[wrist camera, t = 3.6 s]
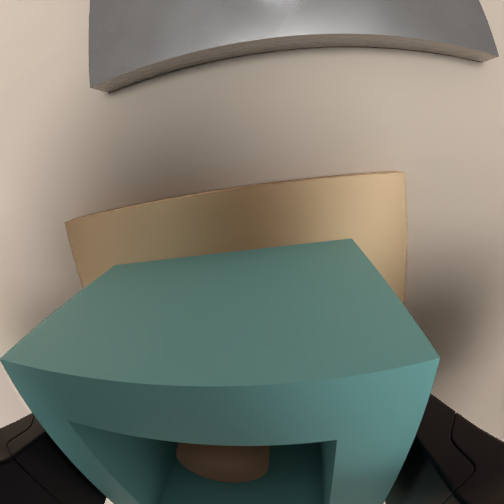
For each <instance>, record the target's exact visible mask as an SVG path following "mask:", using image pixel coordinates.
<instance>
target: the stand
mask: <svg viewBox="0 0 504 504" xmlns="http://www.w3.org/2000/svg"><path fill="white" fill-rule="evenodd" d="M65 225H66V229H67V233H68V237H69V241H70V245H71V249H72V252H73V256H74V260H75V263H76V266H77V270H78V273H79V276H80V279H81V282H82V286H83V289H84V288H85V287H87V286H88V285H89V284H90V283H92V282H93V281H94V280H96V279H97V278H98V277H100V276H101V275H102V274H104V273H105V272H106V271H108V270H109V269H110V268H112V267H113V266H114V265H121V264H130V263H138V262H147V261H156V260H164V259H173V258H182V257H190V256H199V255H208V254H217V253H225V252H234V251H243V250H252V249H261V248H270V247H278V246H287V245H296V244H305V243H314V242H323V241H332V240H341V239H350V238H352V239H353V240H354V242H355V243H356V244H357V245H358V246H359V248H360V249H361V250H362V251H363V253H364V254H365V255H366V256H367V258H368V259H369V260H370V261H371V263H372V264H373V265H374V266H375V268H376V269H377V270H378V271H379V273H380V274H381V275H382V277H383V278H384V279H385V281H386V282H387V283H388V284H389V286H390V287H391V288H392V290H393V291H394V292H395V294H396V295H397V296H398V298H399V299H400V300H401V302H402V303H403V305H404V296H405V280H406V255H407V215H406V190H405V175H404V173H403V172H398V171H391V172H375V173H361V174H348V175H336V176H325V177H315V178H305V179H296V180H287V181H279V182H271V183H263V184H256V185H248V186H241V187H234V188H228V189H221V190H215V191H208V192H202V193H196V194H190V195H185V196H179V197H173V198H168V199H163V200H157V201H152V202H147V203H142V204H137V205H132V206H127V207H123V208H118V209H113V210H109V211H104V212H100V213H96V214H91V215H87V216H83V217H79V218H75V219H72V220H70V221H67V222H65ZM269 455H270V445H269V446H225V445H205V444H191V443H180V442H179V443H178V446H177V448H176V456H177V458H178V460H179V462H180V463H181V464H182V465H183V466H184V467H186V468H187V469H188V470H190V471H192V472H193V473H195V474H197V475H200V476H202V477H205V478H208V479H211V480H216V481H221V482H230V483H239V482H248V481H252V480H255V479H258V478H260V477H262V476H263V475H264V474H265V473H266V472H267V471H268V468H269Z"/></svg>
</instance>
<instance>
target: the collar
mask: <svg viewBox="0 0 504 504" xmlns="http://www.w3.org/2000/svg"><path fill="white" fill-rule="evenodd" d="M0 361H1V362H2V364H3V366H4V368H5V370H6V372H7V373H8V375H9V377H10V378H11V380H12V382H13V383H14V385H15V387H16V388H17V390H18V392H19V393H20V395H21V396H22V398H23V399H24V401H25V402H26V404H27V405H28V407H29V408H30V410H31V411H32V413H33V414H34V416H35V417H36V418H37V420H38V421H39V422H40V424H41V425H42V426H43V428H44V429H45V430H46V432H47V433H48V434H49V436H50V437H51V438H52V439H53V441H54V442H55V443H56V444H57V446H58V447H59V448H60V449H61V450H62V451H63V453H64V454H65V455H66V456H67V457H68V458H69V459H70V461H71V462H72V463H73V464H74V465H75V466H76V467H77V468H78V469H79V470H80V471H81V472H82V474H83V475H84V476H85V477H86V478H87V479H88V480H89V481H90V482H91V483H92V484H93V485H94V486H95V487H96V488H98V489H99V490H100V491H101V492H102V493H103V494H104V495H105V496H106V497H107V498H108V499H109V500H111V501H112V502H113V503H114V504H383V503H384V501H385V499H386V497H387V495H388V494H389V492H390V490H391V488H392V486H393V484H394V482H395V480H396V478H397V476H398V474H399V472H400V470H401V468H402V466H403V463H404V461H405V459H406V457H407V455H408V452H409V450H410V448H411V445H412V443H413V440H414V438H415V435H416V433H417V430H418V428H419V425H420V422H421V420H422V417H423V414H424V411H425V408H426V405H427V402H428V399H429V396H430V393H431V390H432V386H433V383H434V379H435V376H436V372H437V369H438V365H439V361H440V357H439V355H438V354H437V352H436V350H435V349H434V347H433V346H432V344H431V343H430V342H429V340H428V339H427V337H426V336H425V334H424V333H423V331H422V330H421V328H420V327H419V326H418V324H417V323H416V321H415V320H414V318H413V317H412V316H411V314H410V313H409V311H408V310H407V309H406V307H405V306H404V305H403V303H402V302H401V300H400V299H399V298H398V296H397V295H396V294H395V292H394V291H393V290H392V288H391V287H390V286H389V284H388V283H387V282H386V281H385V279H384V278H383V277H382V275H381V274H380V273H379V271H378V270H377V269H376V268H375V266H374V265H373V264H372V263H371V261H370V260H369V259H368V258H367V256H366V255H365V254H364V253H363V251H362V250H361V249H360V248H359V246H358V245H357V244H356V243H355V242H354V240H353V239H352V238H350V239H341V240H332V241H323V242H314V243H305V244H296V245H287V246H278V247H270V248H261V249H252V250H243V251H234V252H225V253H217V254H208V255H199V256H190V257H182V258H173V259H164V260H156V261H147V262H138V263H130V264H121V265H114V266H113V267H112V268H110V269H109V270H108V271H106V272H105V273H104V274H102V275H101V276H100V277H98V278H97V279H96V280H94V281H93V282H92V283H90V284H89V285H88V286H87V287H85V288H84V289H83V290H81V291H80V292H79V293H77V294H76V295H75V296H74V297H72V298H71V299H70V300H69V301H67V302H66V303H65V304H64V305H62V306H61V307H60V308H59V309H57V310H56V311H55V312H54V313H52V314H51V315H50V316H49V317H48V318H46V319H45V320H44V321H43V322H42V323H40V324H39V325H38V326H37V327H36V328H34V329H33V330H32V331H31V332H30V333H29V334H27V335H26V336H25V337H24V338H23V339H22V340H20V341H19V342H18V343H17V344H16V345H15V346H14V347H13V348H11V349H10V350H9V351H8V352H7V353H6V354H5V355H4V356H3V357H1V358H0ZM179 442H180V443H191V444H205V445H225V446H269V445H270V455H269V468H268V471H267V472H266V473H265V474H264V475H263V476H262V477H260V478H258V479H255V480H252V481H248V482H239V483H230V482H221V481H216V480H211V479H208V478H205V477H202V476H200V475H197V474H195V473H193V472H192V471H190V470H188V469H187V468H186V467H184V466H183V465H182V464H181V463H180V462H179V460H178V458H177V456H176V448H177V446H178V443H179Z"/></svg>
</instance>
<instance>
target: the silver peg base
mask: <svg viewBox="0 0 504 504" xmlns="http://www.w3.org/2000/svg"><path fill="white" fill-rule="evenodd" d="M314 47H381V48H396V49H407V50H416V51H424V52H432V53H438V54H444V55H450V56H455V57H461V58H465V59H470V60H474V61H479V62H484V61H487V60H490V59H493V58H496V57H499V55H498V52H497V48H496V45H495V42H494V39H493V36H492V33H491V30H490V27H489V24H488V22H487V19H486V16H485V14H484V11H483V9H482V6H481V4H480V2H479V0H90V13H89V75H90V88H93V89H97V90H101V91H104V92H108V93H109V92H111V91H114V90H116V89H119V88H122V87H124V86H127V85H130V84H133V83H136V82H138V81H141V80H144V79H147V78H151V77H154V76H157V75H160V74H164V73H167V72H171V71H174V70H178V69H182V68H185V67H189V66H193V65H197V64H202V63H206V62H211V61H215V60H220V59H225V58H231V57H236V56H242V55H248V54H255V53H262V52H269V51H278V50H287V49H299V48H314Z"/></svg>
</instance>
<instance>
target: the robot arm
mask: <svg viewBox="0 0 504 504" xmlns="http://www.w3.org/2000/svg"><path fill="white" fill-rule="evenodd" d="M105 500H106V496H105V495H104V494H103V493H102V492H101V491H100V490H99V489H98V488H96V487H95V486H94V485H93V484H92V483H91V482H90V481H89V480H88V479H87V478H86V477H85V476H84V475H83V474H82V472H81V471H80V470H79V469H78V468H77V467H76V466H75V465H74V464H73V463H72V462H71V461H70V459H69V458H68V457H67V456H66V455H65V454H64V453H63V451H62V450H61V449H60V448H59V447H58V446H57V444H56V443H55V442H54V441H53V439H52V438H51V437H50V436H49V434H48V433H47V432H46V430H45V429H44V428H43V426H42V425H41V424H40V422H39V421H38V420H37V418H36V417H35V416H34V414H33V413H31V414H29V415H27V416H25V417H24V418H22V419H20V420H18V421H16V422H14V423H11V424H9V425H7V426H5V427H3V428H0V504H104V503H105ZM385 502H386V504H504V442H503V441H501V440H499V439H497V438H495V437H494V436H492V435H490V434H488V433H487V432H485V431H483V430H482V429H480V428H478V427H477V426H475V425H474V424H472V423H471V422H469V421H468V420H467V419H465V418H464V417H462V416H461V415H460V414H458V413H456V414H455V411H454V410H453V409H451V408H450V407H448V406H447V405H446V404H444V403H443V402H442V401H440V400H439V399H437V398H436V397H435V396H433V395H432V394H431V393H430V396H429V399H428V402H427V405H426V408H425V411H424V414H423V417H422V420H421V422H420V425H419V428H418V430H417V433H416V435H415V438H414V440H413V443H412V445H411V448H410V450H409V452H408V455H407V457H406V459H405V461H404V463H403V466H402V468H401V470H400V472H399V474H398V476H397V478H396V480H395V482H394V484H393V486H392V488H391V490H390V492H389V494H388V495H387V497H386V499H385Z"/></svg>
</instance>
